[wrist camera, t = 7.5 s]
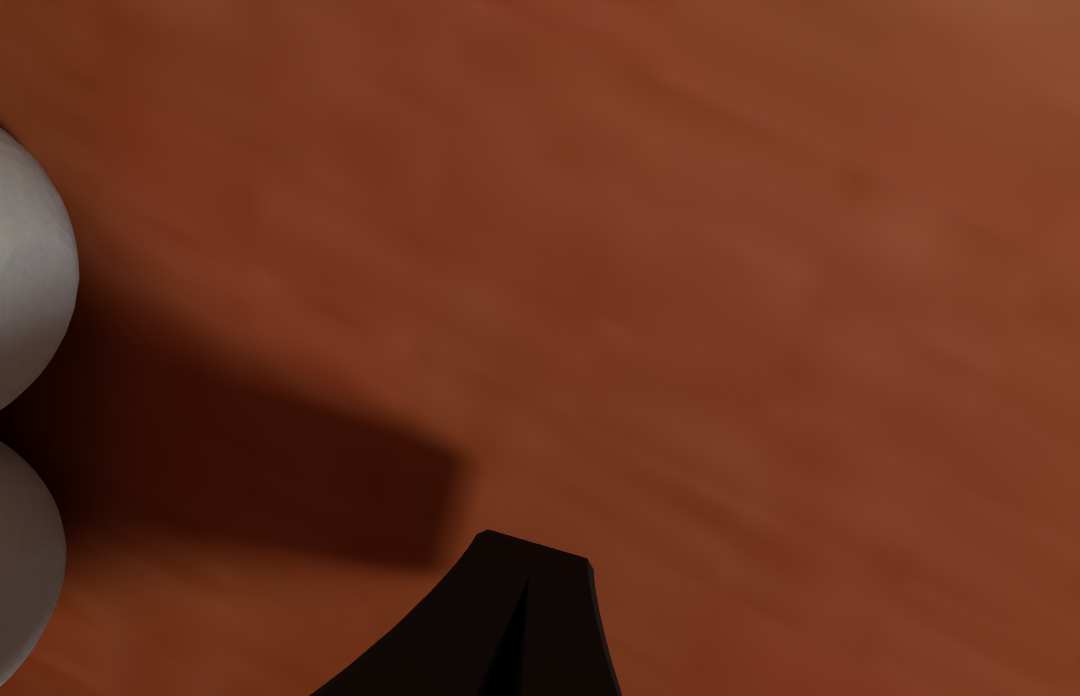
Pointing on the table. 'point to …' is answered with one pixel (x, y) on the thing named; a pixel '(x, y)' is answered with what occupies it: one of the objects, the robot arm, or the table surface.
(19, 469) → the rainbow petal cluster
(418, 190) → the table surface
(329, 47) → the table surface
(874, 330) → the table surface
